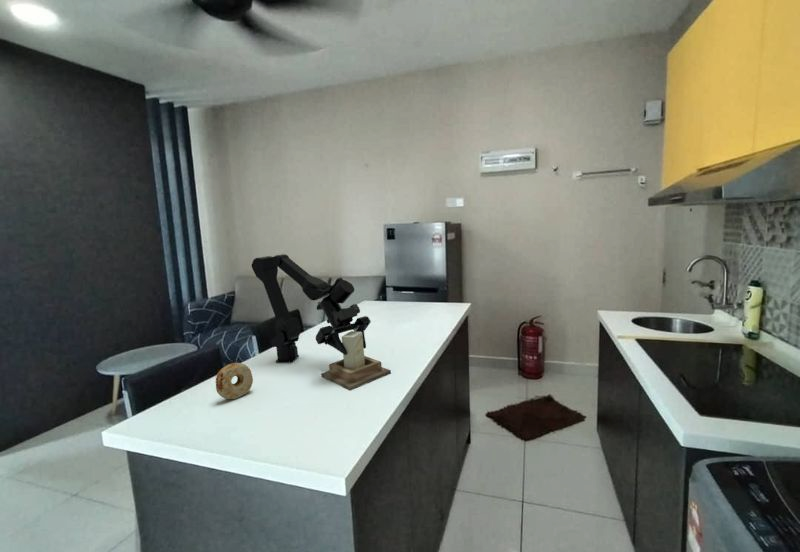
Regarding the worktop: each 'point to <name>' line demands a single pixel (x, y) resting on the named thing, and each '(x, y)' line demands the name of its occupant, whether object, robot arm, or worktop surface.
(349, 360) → the skincare box
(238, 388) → the stone disc
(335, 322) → the robot arm
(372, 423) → the worktop surface
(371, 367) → the socket
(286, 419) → the worktop surface
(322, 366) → the worktop surface
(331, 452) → the worktop surface
